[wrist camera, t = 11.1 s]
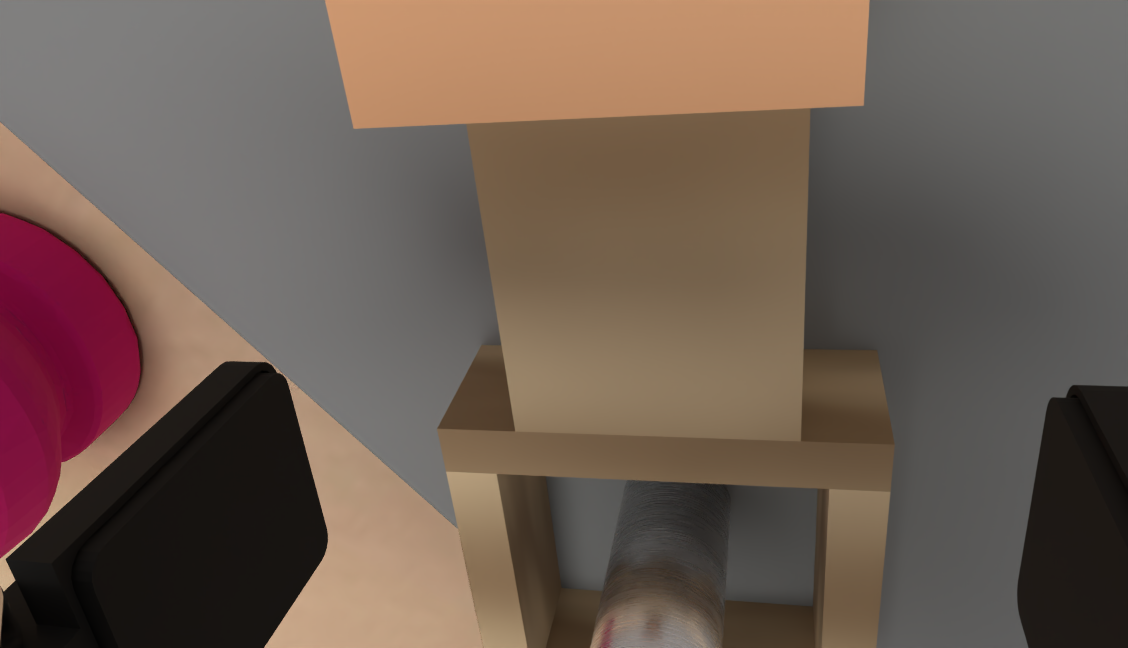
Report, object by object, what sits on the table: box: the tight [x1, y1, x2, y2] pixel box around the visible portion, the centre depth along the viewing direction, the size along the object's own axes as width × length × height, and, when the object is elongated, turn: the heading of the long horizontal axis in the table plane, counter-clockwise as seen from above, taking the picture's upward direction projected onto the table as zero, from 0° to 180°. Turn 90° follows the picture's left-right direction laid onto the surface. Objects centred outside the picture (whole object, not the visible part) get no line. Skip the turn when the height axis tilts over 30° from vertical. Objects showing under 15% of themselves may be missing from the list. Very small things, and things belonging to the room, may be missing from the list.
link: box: [437, 108, 895, 648], centre depth 17 cm, size 18×8×3 cm, turn 6°
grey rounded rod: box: [590, 480, 731, 648], centre depth 17 cm, size 2×2×7 cm
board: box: [0, 0, 1128, 648], centre depth 18 cm, size 30×19×1 cm, turn 44°
